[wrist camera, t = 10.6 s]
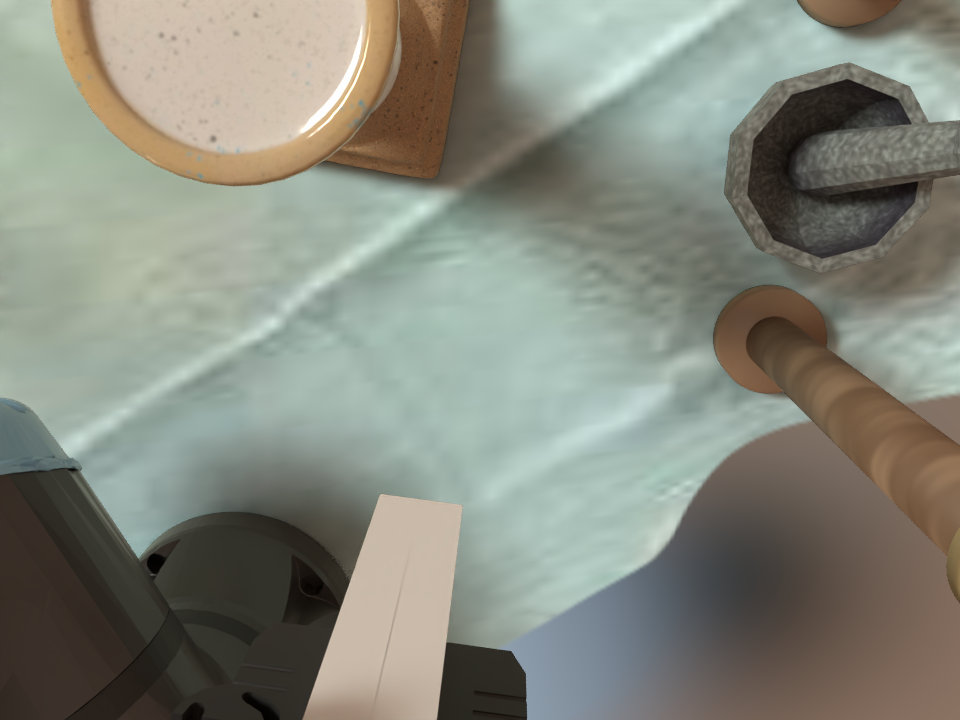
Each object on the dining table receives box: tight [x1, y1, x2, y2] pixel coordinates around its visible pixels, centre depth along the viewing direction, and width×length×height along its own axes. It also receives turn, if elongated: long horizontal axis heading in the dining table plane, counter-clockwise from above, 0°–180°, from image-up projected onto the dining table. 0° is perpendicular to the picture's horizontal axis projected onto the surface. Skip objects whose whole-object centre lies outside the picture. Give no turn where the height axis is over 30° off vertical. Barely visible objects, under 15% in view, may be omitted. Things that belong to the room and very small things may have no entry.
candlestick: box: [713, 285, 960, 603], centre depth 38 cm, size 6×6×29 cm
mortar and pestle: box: [724, 63, 960, 273], centre depth 44 cm, size 11×9×12 cm
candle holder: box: [51, 0, 470, 186], centre depth 37 cm, size 11×11×24 cm
